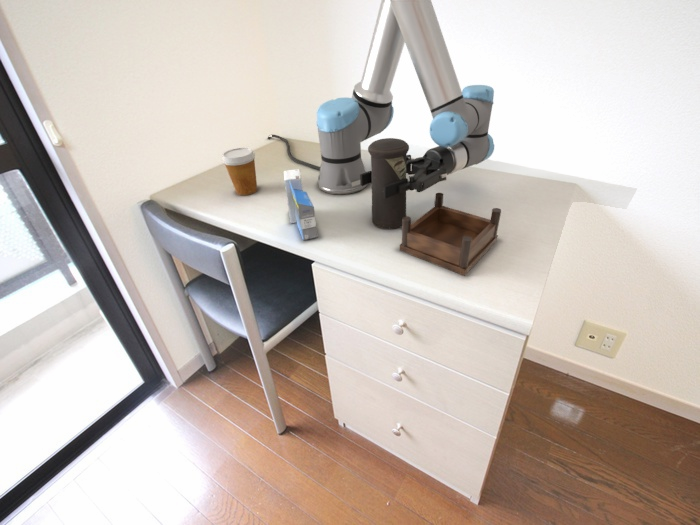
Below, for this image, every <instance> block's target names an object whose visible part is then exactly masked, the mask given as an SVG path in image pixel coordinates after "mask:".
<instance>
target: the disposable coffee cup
mask: <svg viewBox="0 0 700 525" xmlns="http://www.w3.org/2000/svg"><path fill="white" fill-rule="evenodd" d="M221 156H222V158H221V162H222V163H223V164H224V166H225V168H226V170H227V173H228V176H229V177H230V180H231V183H232V186H233V187H234V190H235V192H236V194H237V195H239V196H249V195H252V194H254V193H256V192H257V191H258V183H257V172H256V160H255V158H256V153H255V152H254V150H253V149H252V148H250V147H235V148H232V149H228V150H226V151H224V152H223V153H222V155H221Z"/></svg>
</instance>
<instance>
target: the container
mask: <svg viewBox="0 0 700 525" xmlns="http://www.w3.org/2000/svg"><path fill="white" fill-rule="evenodd" d="M409 151H410V145H409V144H408V142H406V141H405V140H403V139H400V138H396V137H395V138H394V137H387V138H380V139H377V140H375V141H372V142H371V143H370V144H369V145H368V147H367V152H368V153H369V155H370V164H371V165H370V168H371V170H372V183H371V222H372V225H374V226H375V227H377V228H379V229H383V230H392V229H399V228H402V218H403V217H406V216H407V191H405V192H403V193H399V194H396V195H394V196H391V197H388V198H386V199H385V198H383V186H385V185H388V184H391V183H393V182H396V181H399V180H402V179H404V178H407V173H406V158H407V155H408V152H409ZM371 170H370V171H371Z"/></svg>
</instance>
